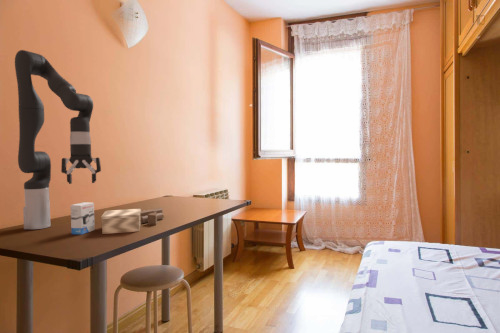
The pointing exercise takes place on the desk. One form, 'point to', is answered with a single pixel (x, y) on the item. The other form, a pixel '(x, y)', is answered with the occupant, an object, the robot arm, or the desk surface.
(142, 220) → the wooden block set
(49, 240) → the desk surface
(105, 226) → the chevron patterned box
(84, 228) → the ink box
